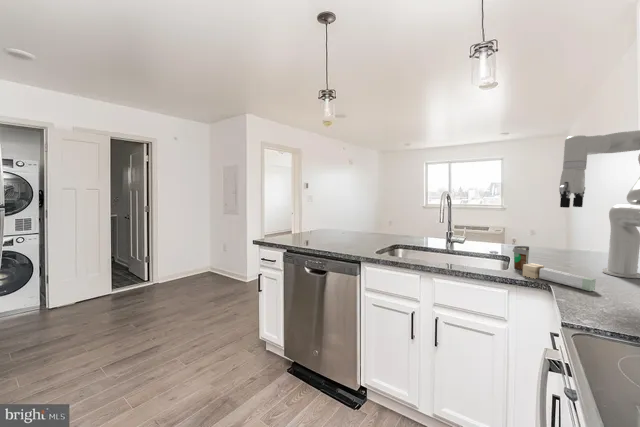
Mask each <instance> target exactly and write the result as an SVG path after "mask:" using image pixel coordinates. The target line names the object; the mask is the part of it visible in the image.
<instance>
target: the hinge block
mask: <svg viewBox="0 0 640 427" xmlns="http://www.w3.org/2000/svg"><path fill="white" fill-rule="evenodd" d="M541 268H545V265H543V264H537V263H528V264H524V265H523V271H522V274H521V275H522V276H521V277H525V276H526V278H529V277H530V278H529V279H533V278H534V279H533V280H537V279H540V278H539V273H540V269H541ZM536 278H537V279H536Z"/></svg>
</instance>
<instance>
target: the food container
mask: <svg viewBox="0 0 640 427" xmlns="http://www.w3.org/2000/svg"><path fill="white" fill-rule="evenodd" d="M512 252H513V263H514V264H513V267H514V269H515V270H518V271H522V272H523V265H524V264H529V258H530V257H529V256H530V255H529V254H530V246H527V245H514V246H513V248H512Z"/></svg>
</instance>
